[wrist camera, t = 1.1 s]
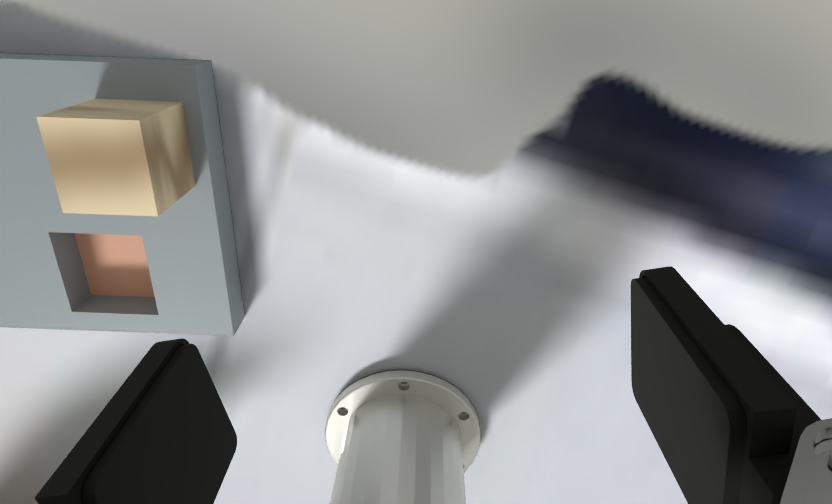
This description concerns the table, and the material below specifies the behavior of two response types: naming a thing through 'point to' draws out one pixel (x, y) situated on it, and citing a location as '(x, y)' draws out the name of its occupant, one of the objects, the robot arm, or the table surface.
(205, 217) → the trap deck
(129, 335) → the table surface
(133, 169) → the beech cube
